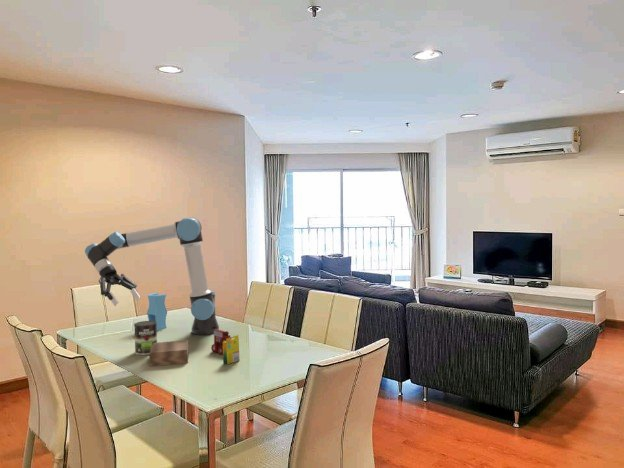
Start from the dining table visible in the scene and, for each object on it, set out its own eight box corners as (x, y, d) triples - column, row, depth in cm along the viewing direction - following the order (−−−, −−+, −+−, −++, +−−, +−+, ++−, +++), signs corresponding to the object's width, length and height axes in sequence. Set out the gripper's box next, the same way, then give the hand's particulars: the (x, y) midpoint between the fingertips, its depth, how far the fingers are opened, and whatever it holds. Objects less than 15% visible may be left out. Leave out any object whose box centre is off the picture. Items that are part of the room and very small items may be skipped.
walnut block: (188, 352, 222) (188, 340, 222) (187, 363, 206) (187, 349, 206) (153, 355, 218) (153, 342, 218) (149, 366, 203) (149, 352, 202)
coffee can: (158, 353, 222) (157, 324, 221) (135, 356, 217) (134, 326, 217) (156, 347, 231) (155, 319, 230) (134, 350, 227) (133, 322, 226)
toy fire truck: (225, 356, 215) (225, 334, 215) (209, 351, 223) (208, 330, 222) (237, 352, 220) (236, 331, 220) (220, 348, 228) (219, 327, 228)
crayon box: (235, 359, 211) (234, 333, 210) (239, 360, 209) (239, 334, 208) (222, 363, 205) (222, 337, 204) (227, 364, 203) (226, 338, 202)
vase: (167, 327, 270) (166, 293, 269) (156, 330, 264) (155, 296, 263) (158, 326, 275) (157, 292, 274) (147, 329, 268) (146, 295, 267)
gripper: (122, 271, 246) (143, 302, 240) (80, 277, 224) (102, 311, 218) (129, 262, 244) (151, 292, 238) (87, 267, 221) (110, 301, 215)
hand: (128, 301), depth 228 cm, fingers open, 13 cm apart
